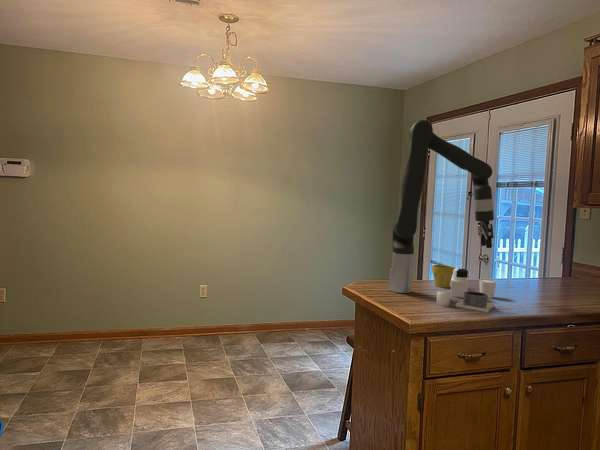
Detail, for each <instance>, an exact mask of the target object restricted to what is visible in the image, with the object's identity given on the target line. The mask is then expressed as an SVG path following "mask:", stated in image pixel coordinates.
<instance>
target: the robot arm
mask: <svg viewBox="0 0 600 450" xmlns="http://www.w3.org/2000/svg"><path fill="white" fill-rule="evenodd" d="M408 135H409V138H410V139H411V142H410V151H409V154H408V158H407V160H406V163H405V166H404V169H403V175H402V180H401V185H400V186H401V188H400V190H401V191H400V195H401V196H400V197H401V199H400V201H401V204H400V210H399V211H400V212H399V214H398V215H399V216H398V218H396V220H395V221H394V222H393V226H392V244H391V245H392V258H391V268H390V269H389V274H388V275H389V276H388V291H390V292H393V293H399V294H410V293H411V292H412V285H413V270H414V253H415V246H414V235H415V234H416V232H417V230H418V229H417V227H418V211H419V206H420V202H421V198H422V193H423V188H424V183H425V176H426V171H427V170H426V168H427V160H428V159H427V157H428V152H429V149H430V150H431V151H434V152H435V153H436V154H438V155H440V156H441V157H443V158H444V159H446V160H447V161H449V162H451V163H452V164H453V165H454V166H456V167H457V168H459V169H460V170H464V171H466V172H468V173H470V174H471V175H470V176H471V181H472V182H471V183H472V186H473V189H474V191H473V192H474V218H475V219H474V220H475V221H476V222H477V228H478V229H477V230H478V231H477V232H478V236H479V238H480V245H481V247H485V248H486V249H492V248H493V241H492V240H493V239H494V227H493V226H494V225H493V224H492V223H491V222H490V221H494V220H495V214H494V212H495V211H494V201H493V194H492V192H493V191H492V187H491V186H490V184H489V179H490V178H491V177H492V175H493V169H492V166H491V165H490V164H489V163H487V162H485V161H483V160H482V159H479V158H478V157H475V156H473V155H472V154H470V153H469V152H467V151H466V150H465V149H463V148H461V147H459V146H457V145H455V144H453V143H451V142H449V141H446V140H444V139H443V138H441V137H439V136H438V135H437V134H436V133H434V128H433V126H432V123H431V122H430V121H428V120H427V119H425V120H424V119H421V120H418V121H416V122H415V123H413V124H412V125H411V127H410V128H409V132H408Z"/></svg>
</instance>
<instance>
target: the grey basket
mask: <svg viewBox="0 0 600 450" xmlns="http://www.w3.org/2000/svg"><path fill="white" fill-rule="evenodd" d="M488 299H489V298H488V295H487V294H485V293H481V292H480V291H474V290H473V291H472V290H468V291H467V292H464V298H462V299H461V300H459V301H457V302H456V303H455V307H456V308H461V309H465V310H472V311H477V312H482V313H484V312H485V313H489V312H490V311H491V310H492V309H493V308H494V307H495V303H492V302H488Z"/></svg>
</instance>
